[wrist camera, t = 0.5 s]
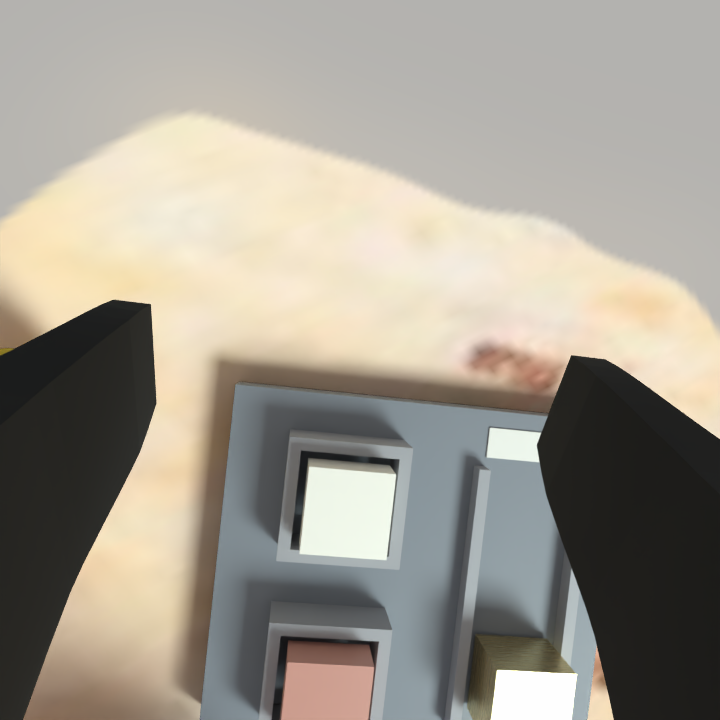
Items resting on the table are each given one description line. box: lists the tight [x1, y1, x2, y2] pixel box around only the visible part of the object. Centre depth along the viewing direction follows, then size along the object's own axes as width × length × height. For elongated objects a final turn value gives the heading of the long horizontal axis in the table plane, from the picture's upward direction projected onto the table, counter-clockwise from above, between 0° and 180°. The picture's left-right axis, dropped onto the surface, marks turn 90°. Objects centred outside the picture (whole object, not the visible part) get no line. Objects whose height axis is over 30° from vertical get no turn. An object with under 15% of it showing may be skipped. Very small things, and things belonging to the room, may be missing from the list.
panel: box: [200, 382, 597, 720], centre depth 32 cm, size 18×21×4 cm
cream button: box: [299, 458, 396, 560], centre depth 28 cm, size 4×4×2 cm
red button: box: [279, 640, 374, 720], centre depth 29 cm, size 4×4×2 cm
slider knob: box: [467, 634, 577, 720], centre depth 31 cm, size 4×4×4 cm
